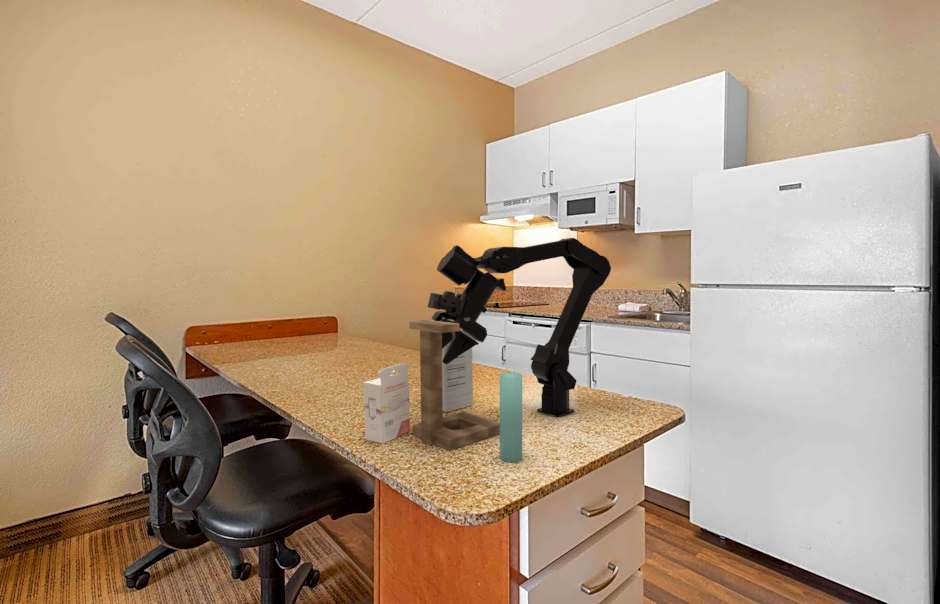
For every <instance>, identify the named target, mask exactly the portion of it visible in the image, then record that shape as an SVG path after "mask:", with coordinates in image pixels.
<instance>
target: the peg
mask: <svg viewBox="0 0 940 604" xmlns="http://www.w3.org/2000/svg"><path fill="white" fill-rule="evenodd" d="M499 423H500V435H499V460H501V461H503V462H506V463H518V462H520V461H522V460H523V373H519V372H512V371H511V372H509V371H508V372H501V373H500V374H499Z"/></svg>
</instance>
